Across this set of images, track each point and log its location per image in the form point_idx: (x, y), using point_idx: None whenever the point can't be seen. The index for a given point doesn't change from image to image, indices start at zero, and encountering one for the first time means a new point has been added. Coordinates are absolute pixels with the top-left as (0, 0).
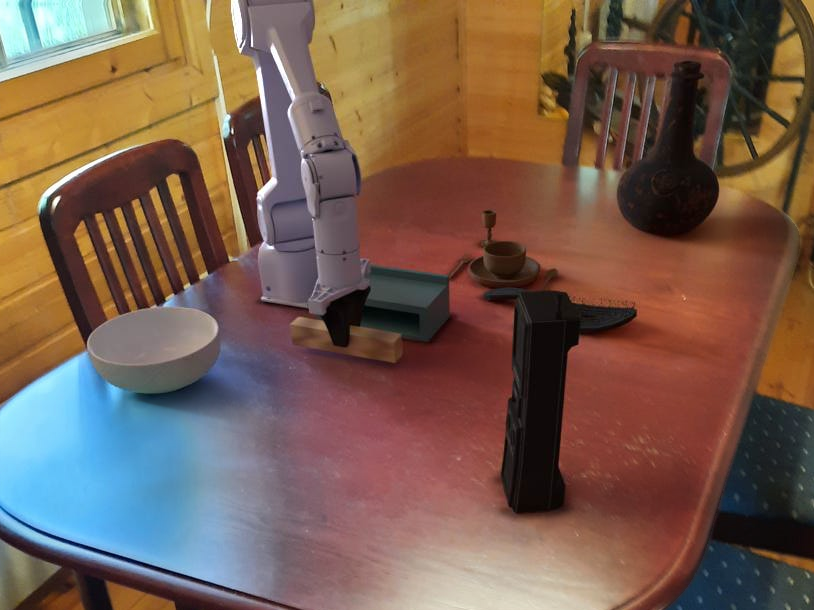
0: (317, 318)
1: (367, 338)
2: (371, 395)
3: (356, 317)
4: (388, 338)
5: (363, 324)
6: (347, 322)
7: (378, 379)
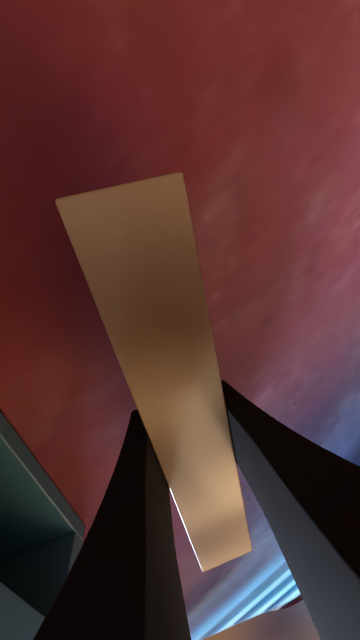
0: (82, 544)
1: (212, 335)
2: (315, 174)
3: (149, 485)
4: (162, 237)
5: (5, 469)
6: (318, 456)
7: (228, 219)
